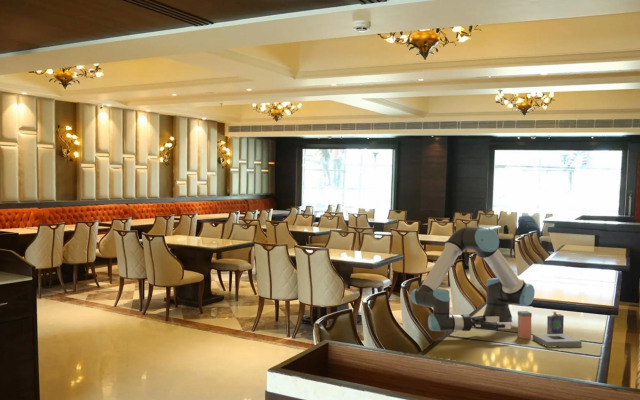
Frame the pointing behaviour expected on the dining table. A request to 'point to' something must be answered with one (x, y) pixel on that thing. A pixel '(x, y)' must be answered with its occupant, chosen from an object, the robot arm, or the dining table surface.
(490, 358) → the dining table surface
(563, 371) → the dining table surface
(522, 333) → the plug
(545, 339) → the socket plate
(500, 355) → the dining table surface
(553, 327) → the flask
